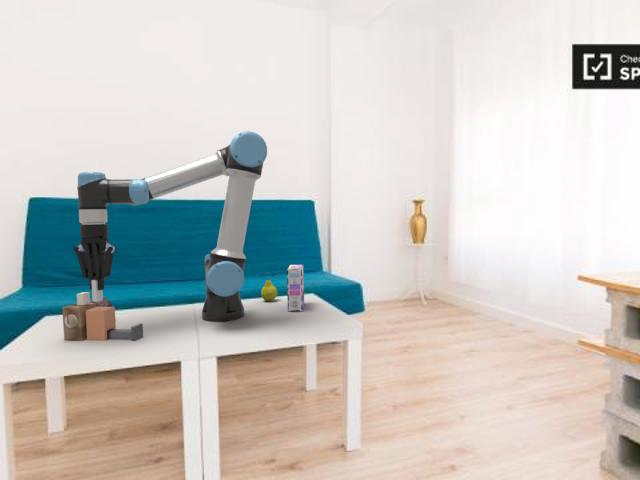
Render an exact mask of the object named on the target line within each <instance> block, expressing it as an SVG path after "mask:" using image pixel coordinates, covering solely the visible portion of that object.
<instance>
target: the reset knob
mask: <svg viewBox="0 0 640 480" xmlns="http://www.w3.org/2000/svg"><path fill="white" fill-rule="evenodd" d="M90 296H91V295H90V291H85V292H83V291H82V292H80V293H76V303H77V305H86V304H90V302H91V297H90Z"/></svg>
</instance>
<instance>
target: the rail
mask: <svg viewBox="0 0 640 480" xmlns="http://www.w3.org/2000/svg"><path fill="white" fill-rule="evenodd" d="M143 337H144V326H143V323H138V324H136V325H134V326H132V327H130V328H129V329H126V328H125V329H123V328H121V329H120V328H116V329H109V330H107V340H130V341H133V342H135V341H137V340H139V339H141V338H143Z"/></svg>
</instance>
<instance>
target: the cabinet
mask: <svg viewBox="0 0 640 480" xmlns="http://www.w3.org/2000/svg"><path fill="white" fill-rule="evenodd" d="M95 307H96V303H90V304H86V305H77V302H76V303H72V304H70V305H66V306H62V325H63V327H62V328H63V339H64V341H78V342H79V341H85V340H87V327H86V310H89V309H92V308H95Z"/></svg>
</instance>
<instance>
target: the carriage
mask: <svg viewBox="0 0 640 480" xmlns="http://www.w3.org/2000/svg"><path fill="white" fill-rule="evenodd" d="M116 326H117V325H116V308H115V306H112V307H95V308H92V309H89V310H86V327H87V339H86V340H87V341H107V340H108V339H107V330H109V329H117V328H116Z"/></svg>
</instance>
